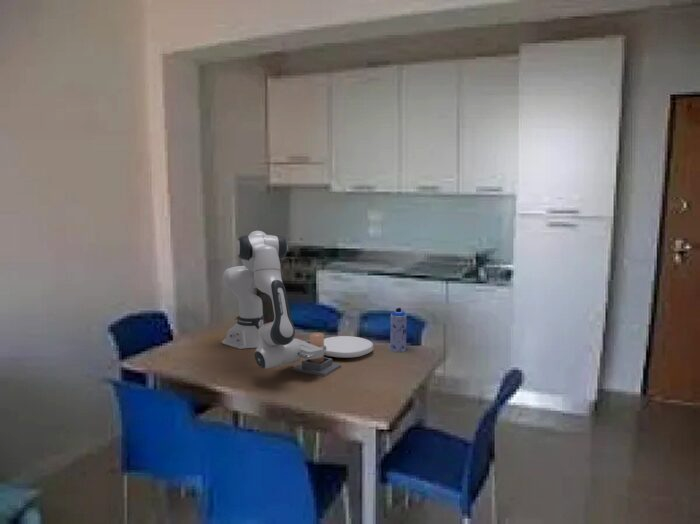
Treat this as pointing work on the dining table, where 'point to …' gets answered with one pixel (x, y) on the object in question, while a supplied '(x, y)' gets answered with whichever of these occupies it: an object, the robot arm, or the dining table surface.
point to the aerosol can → (398, 331)
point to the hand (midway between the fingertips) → (318, 344)
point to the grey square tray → (317, 367)
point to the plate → (347, 346)
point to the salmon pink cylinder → (318, 341)
